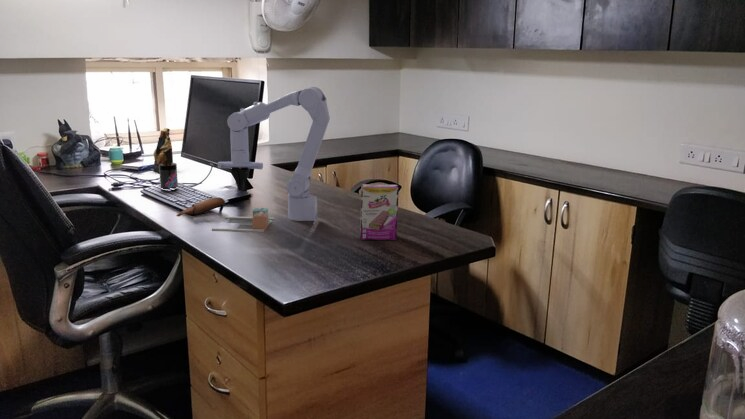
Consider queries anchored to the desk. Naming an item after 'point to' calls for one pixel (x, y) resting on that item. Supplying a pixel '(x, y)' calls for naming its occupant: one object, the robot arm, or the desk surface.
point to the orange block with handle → (260, 220)
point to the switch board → (241, 225)
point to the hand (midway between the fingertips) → (241, 190)
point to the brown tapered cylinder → (203, 206)
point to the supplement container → (168, 175)
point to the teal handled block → (260, 210)
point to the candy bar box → (378, 212)
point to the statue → (163, 150)
